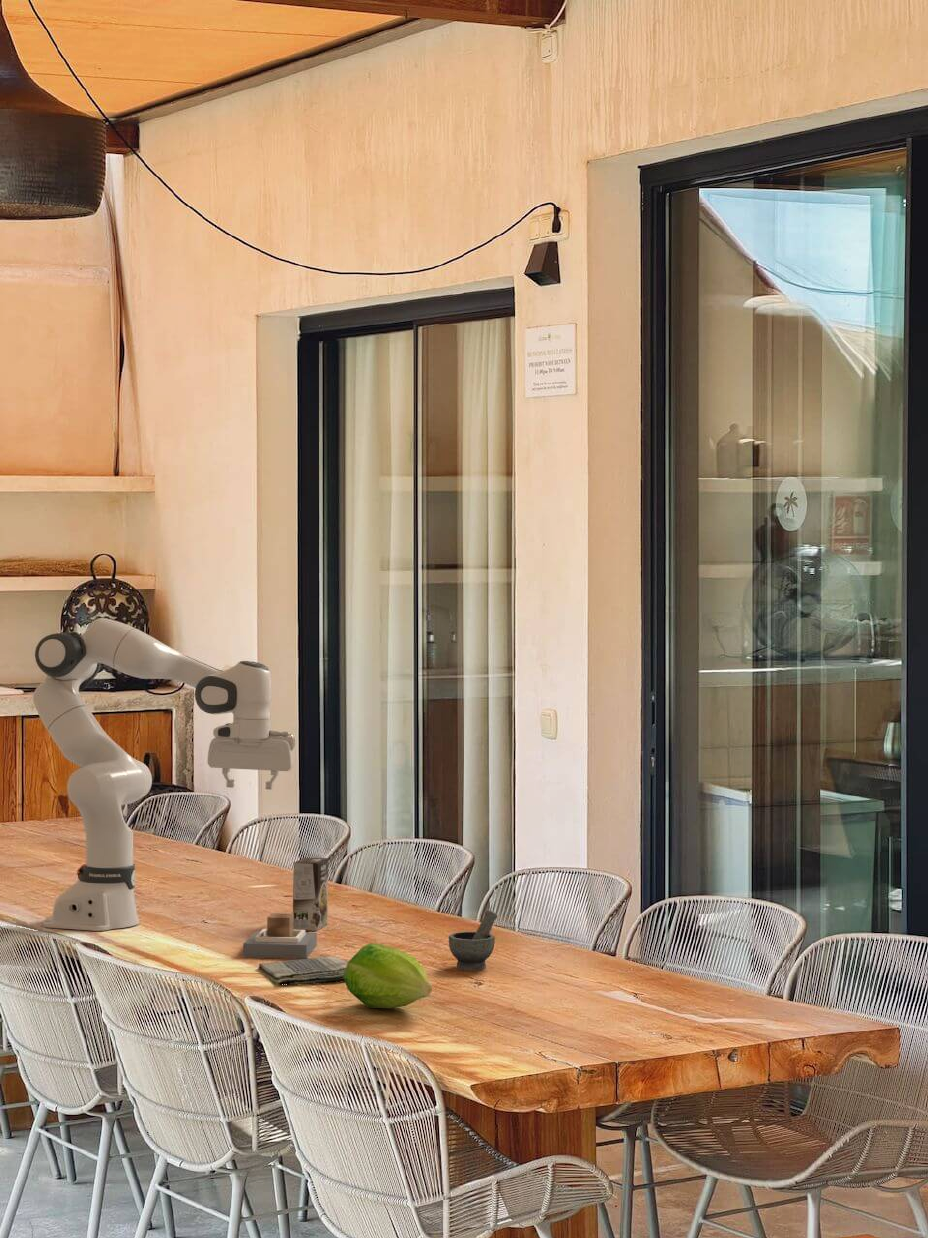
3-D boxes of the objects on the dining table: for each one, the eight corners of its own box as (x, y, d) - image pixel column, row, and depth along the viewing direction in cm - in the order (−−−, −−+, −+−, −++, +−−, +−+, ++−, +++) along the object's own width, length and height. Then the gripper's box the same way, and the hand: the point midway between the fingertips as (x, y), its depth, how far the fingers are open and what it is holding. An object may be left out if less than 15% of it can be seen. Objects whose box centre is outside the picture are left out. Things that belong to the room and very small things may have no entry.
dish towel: (255, 971, 383) (256, 956, 383) (336, 966, 390) (336, 951, 390) (278, 990, 366) (278, 974, 366) (362, 984, 372) (362, 969, 372)
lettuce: (397, 1026, 335) (398, 962, 335) (331, 1006, 350) (331, 945, 350) (453, 1015, 344) (454, 952, 344) (386, 996, 359) (387, 936, 359)
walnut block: (267, 940, 399) (267, 917, 399) (271, 935, 404) (271, 913, 404) (289, 940, 399) (289, 918, 399) (293, 936, 404) (293, 913, 404)
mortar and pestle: (464, 974, 380) (464, 917, 380) (440, 966, 388) (440, 910, 388) (507, 968, 386) (508, 913, 386) (483, 960, 394) (484, 906, 394)
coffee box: (317, 931, 425) (318, 863, 425) (291, 930, 426) (292, 862, 426) (328, 924, 434) (329, 857, 434) (302, 923, 435) (303, 856, 435)
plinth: (243, 957, 395) (243, 938, 395) (255, 944, 409) (255, 926, 409) (306, 958, 394) (306, 940, 394) (316, 946, 408) (316, 928, 408)
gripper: (297, 731, 429) (295, 788, 429) (213, 727, 431) (211, 784, 431) (292, 733, 423) (290, 792, 423) (206, 729, 425) (204, 787, 425)
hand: (249, 788), depth 427 cm, fingers open, 8 cm apart
